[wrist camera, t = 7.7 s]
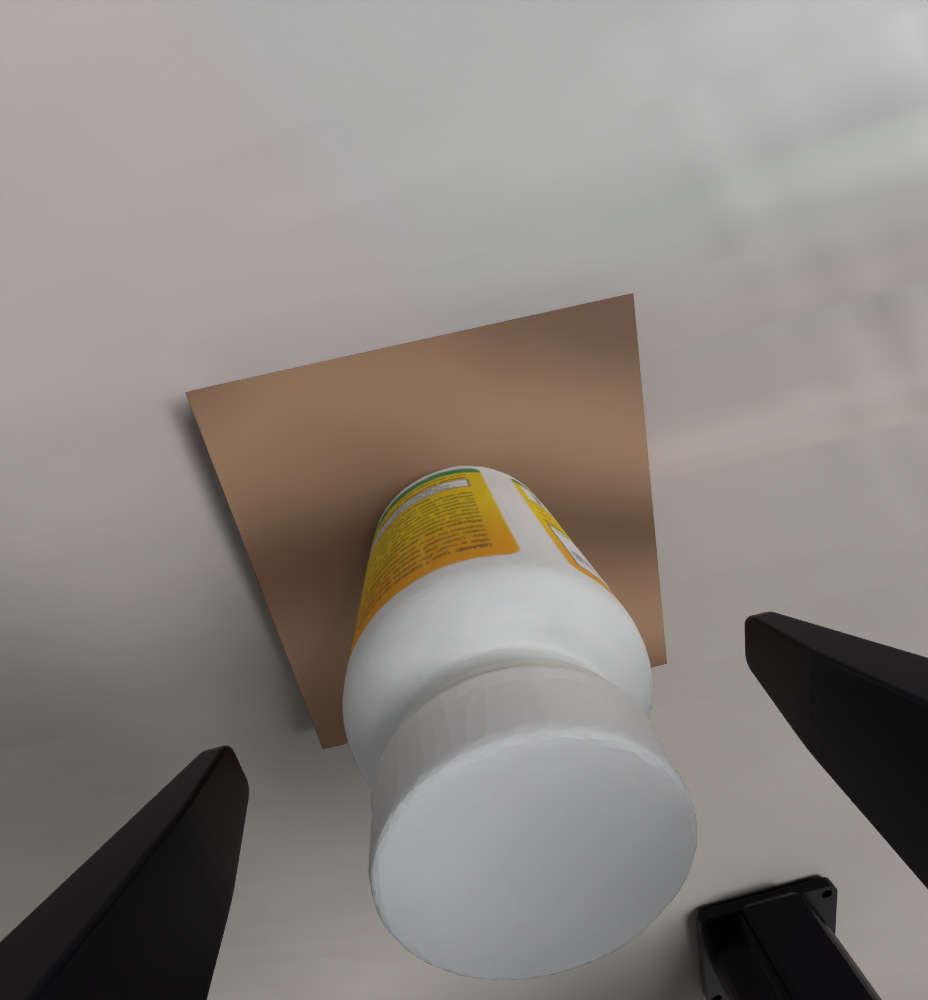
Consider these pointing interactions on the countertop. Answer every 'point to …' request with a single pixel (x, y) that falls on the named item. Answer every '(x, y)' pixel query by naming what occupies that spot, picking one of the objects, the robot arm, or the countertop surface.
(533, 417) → the walnut board
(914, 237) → the countertop surface
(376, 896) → the supplement bottle
